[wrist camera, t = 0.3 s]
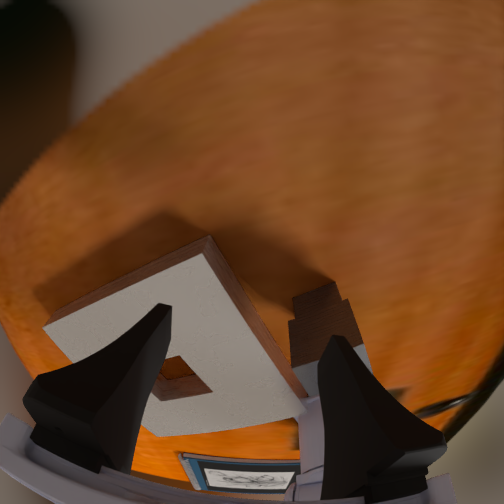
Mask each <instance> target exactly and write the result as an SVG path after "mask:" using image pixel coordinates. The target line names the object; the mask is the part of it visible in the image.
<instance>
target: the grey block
mask: <svg viewBox="0 0 504 504" xmlns="http://www.w3.org/2000/svg"><path fill="white" fill-rule="evenodd" d="M293 304H294V312H295V319H293V320H290V321H288V327H289V340H290V353H291V368H292V370H293V372H294V373H295V375H296V376H297V378H298V380H299V381H300V383H301V384H302V386H303V387H304V389H305V390H306V392H307V393H308V395H309V397H312V396H315V395H319V389H318V379H317V364H318V362H319V360H320V358H321V356H322V354H323V352H324V350H325V348H326V346H327V344H328V342H329V340H330V338H331V336H332V335H339V336H344V337H345V338H346V339H347V340H348V342H349V343H350V345H351V346H352V347H353V349H354V350H355V351H356V353H357V354H358V356H359V357H360V358H361V360H362V361H363V363H364V364H365V365H366V367H367V368H368V369H369V370H370V372H371V373H372V374H373V372H372V369H371V365H370V362H369V359H368V356H367V352H366V349H365V346H364V343H363V340H362V337H361V334H360V331H359V328H358V326H357V323H356V320H355V317H354V314H353V312H352V309H351V306H350V303H349V301H348V299H346V300H343V301H342V298H341V296H340V293H339V290H338V288H337V285H336V283H335V282H333V283H330V284H328V285H325V286H323V287H320V288H318V289H315V290H313V291H310V292H307V293H305V294H302V295H300V296H297V297H294V298H293Z"/></svg>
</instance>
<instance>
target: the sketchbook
mask: <svg viewBox="0 0 504 504" xmlns="http://www.w3.org/2000/svg"><path fill="white" fill-rule="evenodd" d="M181 455H182V454H181V453H180V454H179V455H178V458H179V460H180V462H181V464H182V466H183V468H184V470H185V472H186V474H187V475H188V477H189V479H190V481H191V483H192V485H193V487H194V488H195V489H196V490H208V491H218V492H230V493H248V494H285V492H286V490H287V489H288V488H289V486H290V485H291V484H292V483H296V476H297V475H301V463H300V460H253V459H236V458H224V457H214V456H206V455H198V454H191V453H184V454H183V458H181V457H182V456H181ZM180 456H181V457H180ZM184 461H185V462H184ZM188 470H189V471H188Z"/></svg>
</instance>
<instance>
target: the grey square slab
mask: <svg viewBox="0 0 504 504" xmlns="http://www.w3.org/2000/svg"><path fill="white" fill-rule="evenodd" d="M158 303H162V304H167V305H171V306H172V326H171V341H170V344H169V348H168V351H167V355H166V358H165V359H167V358H171V357H175V356H179V355H180V356H181V358H182V359H183V360H184V361H185V362H186V363H187V364H188V365H189V367H190V368H191V369H192V370H193V371H194V372H195V373H196V374H194V375H190V376H185V377H181V378H176V379H172V380H167V379H166V378H165V377H164V376H163V375H162V374H161V373H160V372H159V374H158V377H157V379H156V381H155V384H154V386H153V388H152V391H151V393H150V395H149V398H148V401H147V404H146V407H145V411H144V414H143V418H142V421H141V425H142V426H144V427H145V428H146V429H148V430H149V431H150V432H152V433H153V434H154V435H156V436H157V437H159V436H176V435H188V434H199V433H208V432H216V431H223V430H230V429H236V428H242V427H248V426H254V425H259V424H264V423H269V422H274V421H278V420H283V419H287V418H291V417H296V416H300V415H303V414H307V413H309V412H308V401H307V392H306V390H305V389H304V387H303V386H302V384H301V383H300V381H299V380H298V378H297V376H296V375H295V373H294V372H293V370H292V368H291V366H290V364H289V363H288V361H287V360H286V358H285V356H284V355H283V353H282V352H281V350H280V348H279V347H278V345H277V344H276V342H275V341H274V339H273V337H272V336H271V334H270V332H269V331H268V329H267V328H266V326H265V324H264V323H263V321H262V320H261V318H260V316H259V315H258V313H257V311H256V310H255V308H254V307H253V305H252V303H251V302H250V300H249V298H248V297H247V295H246V293H245V292H244V290H243V288H242V287H241V285H240V283H239V282H238V280H237V278H236V277H235V275H234V273H233V272H232V270H231V268H230V267H229V265H228V263H227V262H226V260H225V258H224V257H223V255H222V253H221V252H220V250H219V248H218V247H217V245H216V243H215V241H214V240H213V238H212V236H211V235H210V234H209V235H207V236H205V237H203V238H201V239H199V240H196V241H194V242H192V243H190V244H188V245H186V246H184V247H182V248H180V249H177V250H175V251H173V252H171V253H169V254H167V255H165V256H163V257H161V258H159V259H157V260H155V261H152V262H150V263H148V264H146V265H144V266H142V267H140V268H138V269H136V270H134V271H132V272H130V273H128V274H126V275H124V276H122V277H120V278H118V279H116V280H114V281H112V282H110V283H108V284H106V285H104V286H102V287H100V288H98V289H96V290H94V291H92V292H90V293H89V294H87V295H85V296H83V297H81V298H79V299H77V300H75V301H73V302H71V303H69V304H67V305H66V306H64V307H62V308H60V309H58V310H56V311H55V312H54V314H53V315H52V316H51V317H50V319H49V320H48V321H47V322H46V324H45V325H44V326H43V327H42V328H43V329H44V331H45V332H46V333H47V334H48V335H49V337H50V338H51V339H52V340H53V341H54V342H55V344H56V345H57V346H58V347H59V348H60V349H61V350H62V351H63V353H64V354H65V355H66V356H67V357H68V358H69V359H70V360H71V361H72V362H73V363H76V362H78V361H80V360H82V359H84V358H86V357H88V356H90V355H92V354H94V353H96V352H97V351H99V350H101V349H102V348H104V347H106V346H107V345H109V344H110V343H112V342H113V341H114V340H116V339H117V338H118V337H120V336H121V335H122V334H124V333H125V332H126V331H128V330H129V329H130V328H131V327H132V326H134V325H135V324H136V323H137V322H138V321H139V320H141V319H142V318H143V317H144V316H145V315H146V314H147V313H148V312H149V311H150V310H151V309H152V308H153V307H154V306H155V305H156V304H158Z"/></svg>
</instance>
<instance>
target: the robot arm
mask: <svg viewBox="0 0 504 504" xmlns="http://www.w3.org/2000/svg"><path fill="white" fill-rule="evenodd" d="M171 326H172V306H171V305H167V304H162V303H158V304H156V305H155V306H154V307H153V308H152V309H151V310H150V311H149V312H148V313H147V314H146V315H145V316H144V317H143V318H142V319H141V320H139V321H138V322H137V323H136V324H135V325H134V326H132V327H131V328H130V329H129V330H128V331H126V332H125V333H124V334H122V335H121V336H120V337H118V338H117V339H116V340H114V341H113V342H112V343H110V344H109V345H107V346H106V347H104V348H102V349H101V350H99V351H97V352H96V353H94V354H92V355H90V356H88V357H86V358H84V359H82V360H80V361H78V362H76V363H73V364H71V365H68V366H66V367H63V368H60V369H57V370H54V371H51V372H47V373H44V374H40V375H38V376H37V377H36V378H35V380H34V381H33V382H32V384H31V385H30V387H29V389H28V390H27V392H26V394H25V396H24V397H23V404H24V406H25V408H26V409H27V411H28V412H29V414H30V415H31V417H32V418H33V419H34V421H35V422H36V426H35V427H34V429H33V428H32V427H31V426H29V425H28V424H27V423H25V422H23V421H22V420H20V419H19V418H17V417H15V416H14V415H12V414H11V413H7V414H6V416H5V417H4V419H3V421H2V423H1V425H0V468H1V469H2V470H3V471H5V472H6V473H7V474H9V475H10V476H11V477H13V478H14V479H15V480H17V481H19V482H20V483H22V484H23V485H25V486H26V487H28V488H30V489H31V490H33V491H34V492H36V493H38V494H39V495H41V496H43V497H45V498H47V499H48V500H50V501H52V502H54V503H56V504H163V503H165V504H457V500H456V496H455V492H454V489H453V485H452V481H451V478H450V474H449V473H446V474H443V475H440V476H436V477H433V478H430V479H428V480H426V478H425V475H427V474H428V468H427V467H428V466H429V465H431V464H432V463H433V462H435V461H436V460H437V459H439V458H440V457H441V456H442V455H443V454H444V453H445V452H446V450H447V444H446V441H445V439H444V436H443V433H442V432H441V431H439V430H437V429H435V428H434V427H432V426H430V425H428V424H427V423H425V422H424V421H422V420H421V419H419V418H418V417H416V416H415V415H414V414H412V413H411V412H410V411H408V410H407V409H406V408H405V407H404V406H402V405H401V404H400V403H399V402H398V401H397V400H396V399H395V398H394V397H393V396H392V395H391V394H390V393H389V392H388V391H387V390H386V389H385V388H384V387H383V386H382V385H381V384H380V383H379V381H378V380H377V379H376V378H375V377H374V375H373V374H372V373H371V372H370V370H369V369H368V368H367V367H366V365H365V364H364V363H363V361H362V360H361V358H360V357H359V356H358V354H357V353H356V351H355V350H354V349H353V347H352V346H351V345H350V343H349V342H348V340H347V339H346V338H345V337H344V336H339V335H332V336H331V338H330V340H329V342H328V344H327V346H326V348H325V350H324V352H323V354H322V356H321V358H320V360H319V362H318V364H317V379H318V389H319V395H315V396H312V397H307V401H308V412H309V413H307V414H303V415H300V416H296V417H294V419H295V420H296V421H297V422H298V426H299V443H300V463H301V475H297V476H296V483H292V484H291V485H290V486H289V488H288V489H287V490H286V492H285V497H284V501H271V500H269V501H268V500H253V499H242V498H233V497H224V496H217V495H211V494H204V493H199V492H193V491H188V490H183V489H179V488H174V487H170V486H166V485H161V484H158V483H154V482H150V481H147V480H144V479H140V478H137V477H133V476H131V475H130V471H131V466H132V461H133V456H134V451H135V446H136V442H137V437H138V433H139V429H140V425H141V421H142V418H143V414H144V411H145V407H146V404H147V401H148V398H149V395H150V393H151V391H152V388H153V386H154V384H155V381H156V379H157V377H158V374H159V372H160V370H161V367H162V365H163V363H164V360H165V358H166V355H167V351H168V348H169V344H170V341H171Z"/></svg>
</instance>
